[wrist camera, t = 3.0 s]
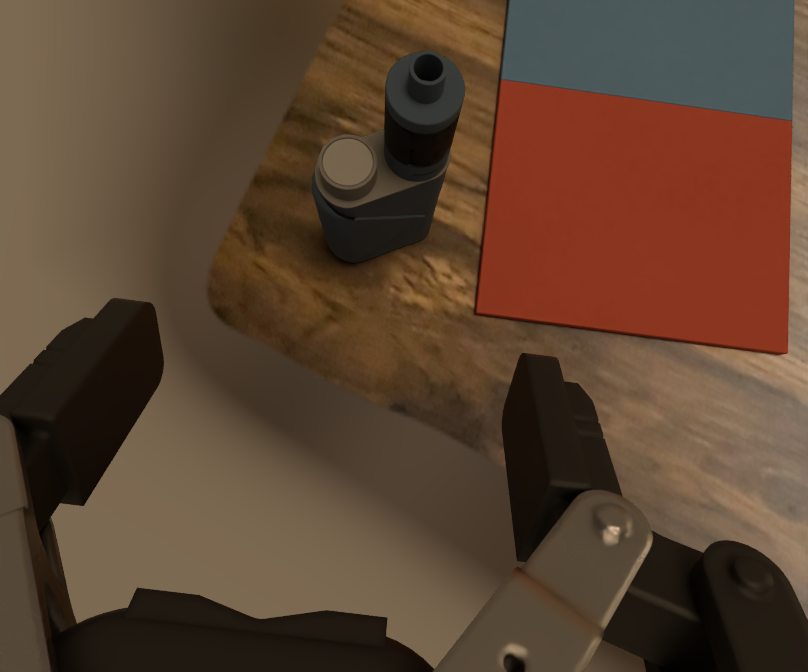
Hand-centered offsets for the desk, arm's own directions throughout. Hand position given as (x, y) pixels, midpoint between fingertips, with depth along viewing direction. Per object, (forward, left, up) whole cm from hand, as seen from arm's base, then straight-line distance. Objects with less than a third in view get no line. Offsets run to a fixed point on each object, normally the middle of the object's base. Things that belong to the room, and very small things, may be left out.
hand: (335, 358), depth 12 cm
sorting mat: (+12, +16, -14) cm, 25 cm away
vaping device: (0, +8, -14) cm, 16 cm away
